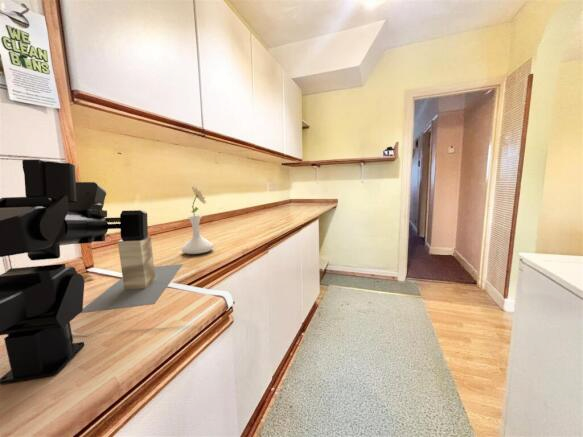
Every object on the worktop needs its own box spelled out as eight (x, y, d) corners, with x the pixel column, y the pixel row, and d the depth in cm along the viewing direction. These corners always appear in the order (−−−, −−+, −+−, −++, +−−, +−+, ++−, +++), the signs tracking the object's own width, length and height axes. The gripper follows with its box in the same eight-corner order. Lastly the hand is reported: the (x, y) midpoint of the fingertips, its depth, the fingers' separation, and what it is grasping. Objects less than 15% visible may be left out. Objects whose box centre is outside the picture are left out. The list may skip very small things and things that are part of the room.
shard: (39, 300, 56) (38, 292, 56) (32, 292, 60) (30, 285, 60) (96, 283, 65) (95, 277, 64) (86, 277, 69) (85, 271, 69)
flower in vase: (212, 255, 86) (206, 185, 83) (178, 258, 84) (171, 186, 80) (215, 246, 99) (210, 185, 95) (185, 248, 96) (179, 186, 93)
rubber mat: (154, 306, 50) (154, 303, 50) (77, 315, 47) (77, 313, 47) (183, 265, 75) (183, 264, 75) (134, 270, 72) (133, 268, 72)
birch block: (146, 288, 58) (139, 240, 56) (124, 289, 58) (117, 241, 56) (155, 279, 63) (150, 235, 61) (135, 281, 63) (129, 236, 61)
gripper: (127, 180, 42) (158, 191, 58) (0, 180, 39) (69, 192, 54) (129, 243, 42) (160, 237, 58) (1, 248, 39) (70, 241, 54)
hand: (116, 226), depth 56 cm, fingers open, 9 cm apart
